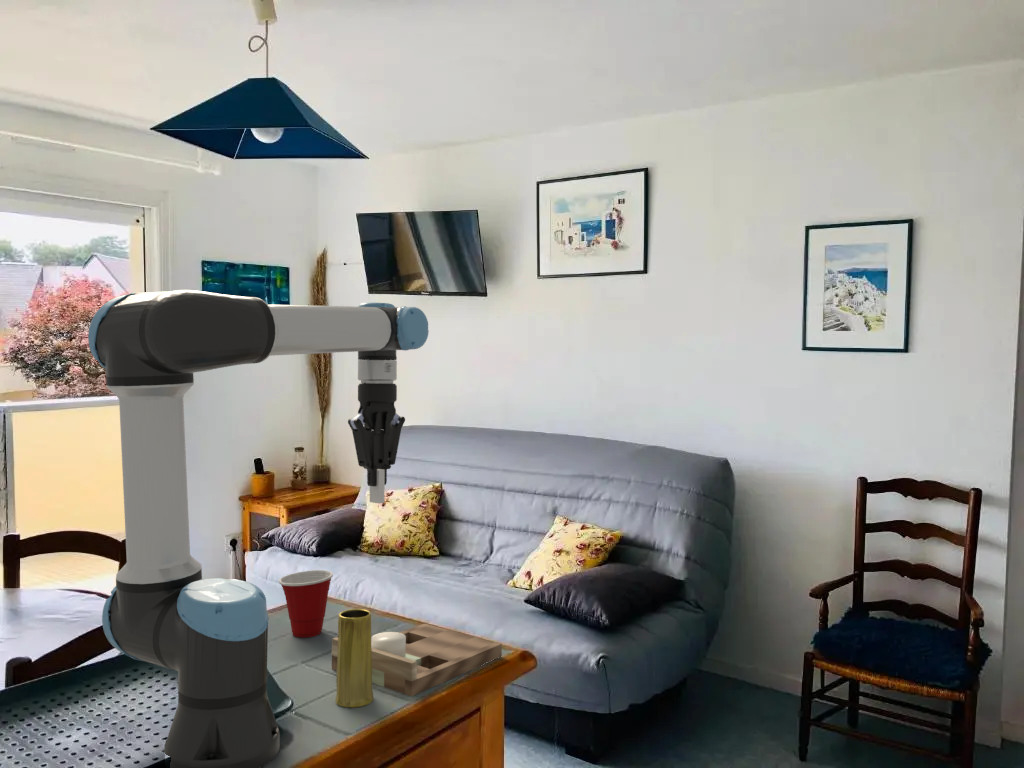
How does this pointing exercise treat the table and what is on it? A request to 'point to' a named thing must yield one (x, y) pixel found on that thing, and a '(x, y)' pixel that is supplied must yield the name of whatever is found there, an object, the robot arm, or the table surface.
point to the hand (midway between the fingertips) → (377, 502)
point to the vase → (354, 659)
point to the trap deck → (427, 659)
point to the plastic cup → (306, 600)
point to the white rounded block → (390, 643)
